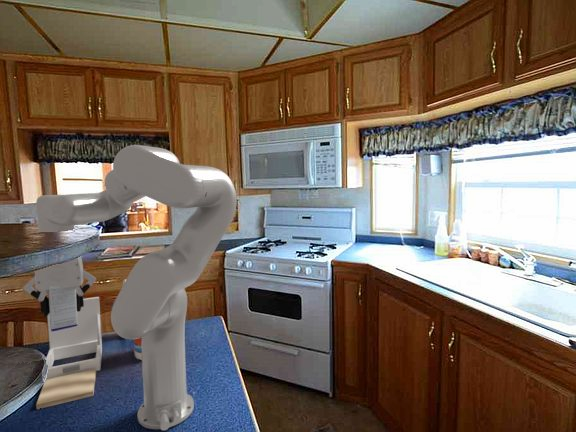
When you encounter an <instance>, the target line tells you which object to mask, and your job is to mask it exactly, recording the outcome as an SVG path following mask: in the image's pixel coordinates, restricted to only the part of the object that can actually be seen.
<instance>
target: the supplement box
mask: <svg viewBox="0 0 576 432" xmlns="http://www.w3.org/2000/svg"><path fill="white" fill-rule="evenodd" d="M76 296H77V292H76V287H75V288H63V289H60V287H59V286H49V291H48V298H49V313H50V327H51V332H53V331H58V330H62V329H66V328H71V327H75V326H77V325H78V322H77V304H76Z"/></svg>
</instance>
